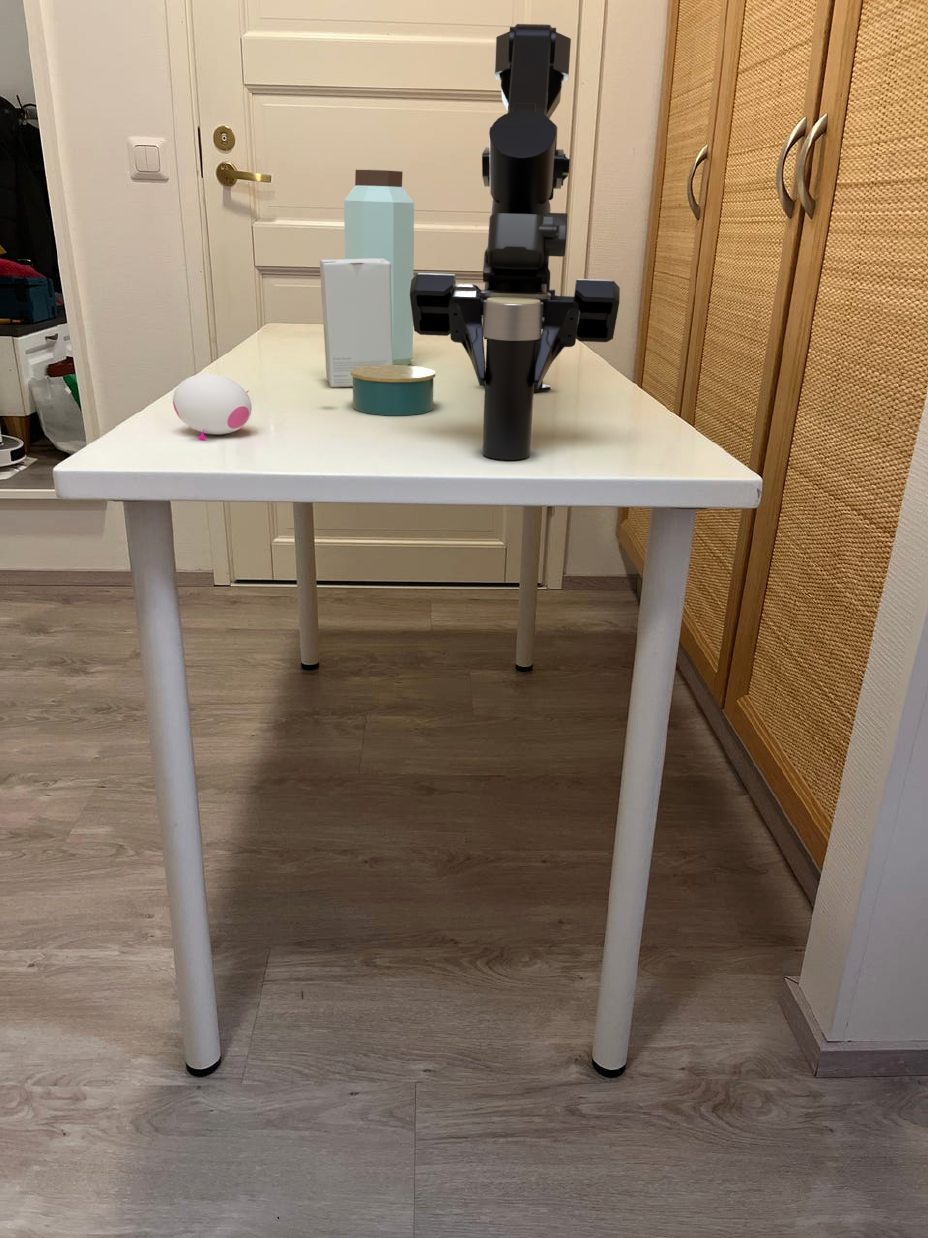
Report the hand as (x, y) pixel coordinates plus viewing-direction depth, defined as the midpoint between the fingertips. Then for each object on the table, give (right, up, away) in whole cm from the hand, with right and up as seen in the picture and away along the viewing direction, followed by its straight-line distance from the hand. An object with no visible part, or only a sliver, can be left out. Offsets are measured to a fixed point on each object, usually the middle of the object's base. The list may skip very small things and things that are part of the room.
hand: (508, 384), depth 84 cm
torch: (0, -5, +4) cm, 7 cm away
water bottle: (-16, +16, +52) cm, 57 cm away
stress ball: (-28, -3, +9) cm, 30 cm away
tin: (-12, +3, +23) cm, 26 cm away
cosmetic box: (-17, +9, +36) cm, 41 cm away
